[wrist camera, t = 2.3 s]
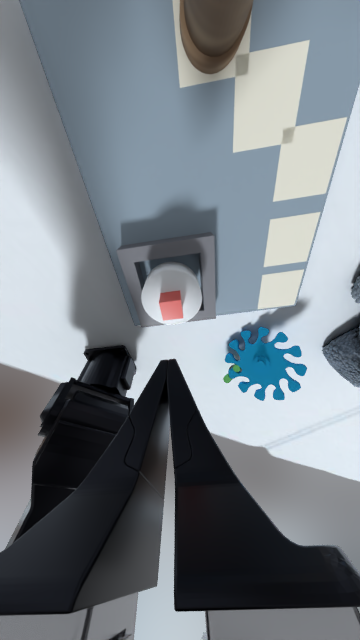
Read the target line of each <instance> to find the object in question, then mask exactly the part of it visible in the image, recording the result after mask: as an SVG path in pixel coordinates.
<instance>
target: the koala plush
mask: <svg viewBox="0 0 360 640" xmlns="http://www.w3.org/2000/svg"><path fill="white" fill-rule="evenodd" d="M351 295H352V298H354V299H356V301H355V302H356V303H360V276H358V277H357V278H356V282H355V283H354V288H353V289H352V292H351ZM322 351H323V354H324V356H325V357H326V359H327V361H328V362H329V364H330V365H331V366H332V367H333V368H334V369H335V370H336V371H337V372H338V373H339V374H340V375H341V376H342V377H343V378H345V379H346V380H347V381H350V383H351V384H353V385H354V386H355V387H360V325H359V328H356V329H354V330H352V331H349V332H347V333H345V334H343V335H342V336H339V337H338V338H336V339H334V340H332V341H331V342H330V343H329V344H328V345H326V346H325V347H324V348H323V350H322Z"/></svg>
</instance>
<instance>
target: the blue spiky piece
mask: <svg viewBox="0 0 360 640" xmlns="http://www.w3.org/2000/svg"><path fill="white" fill-rule="evenodd" d="M268 333H269V330H268V329H267V328H264V327H260V328H259V329H258V339H257V341H256V342H255V343H254V344H251V343H249V338H250V336H251V331H249V330H246V331H242V332H241V336H242V338H243V339H244V341H245V350H240V349H239V342H238V340H236V339H235V340H233V341H231V342H230V343H229V346H230V347H231V348H232V349H234V350H236V351H237V353H238V354H239V356H240V360H236V359H235V358H234V356H233V354H231V353H228V354H227V355H226V357H225V362H227V363H234V364H235V365H232V366H231V367H230V368H229V371H228V373H229V374H227V375H226V376H225V377H224V382H226V383H229V382H230V381H231V380H232V379H233V378H235V377H238V376H244V377H247V378H249V380H250V382H240V383H239V385H238V387H239V388H240V390H241V391H242V392H243V393H244V392H246V391H247V390H248V388H249V387H250V386H251V385H253V384H260V385H261V386H262V388H261V389H258V390H256V391H255V394H254V396H255V397H256V398H257V399H259V400H262V401H263V400H264V399H265V389H266V388H267V386H268V385H270V384H272V385H274V386H275V387H276V389H275V390H274V392H273V398H274V399H276V400H284V393H283V391H282V390H281V388H280V385H279V380H280V379H282V378H284V379H287V380H288V387H289V390H290V391H292V392H295V391H297V390H299V389H300V388H301V387H300V384H299V382H297V381H296V380H294V379H292V378H291V377H290V376H289V375H288V374H287V372H286V370H285V369H286V368H287V367H292V368H293V369H294V370H295V372H296V373H297V374H298V375H300V376H304V375H305V373H306V370H307V367H306V366H305V365H303V364H295V363H291V362H289V361H287V360H286V359H285V358H284V357H283V356H284V354H286V353H289V354H291V355H293V356H294V357H301V350H300V347H299V346H293V347H291V348H289V349H277V348H275V346H274V344H275V343H276V342H286V341H287V340H288V338H287V336H286V335H285V334H284V333H283V332H279V333H278V334H277V336H276V338H275V339H274V340H272V341H271V342H268V343H263V342H262V340H261V338H262V337H263V336H266V335H267V334H268Z"/></svg>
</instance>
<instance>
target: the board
mask: <svg viewBox="0 0 360 640" xmlns="http://www.w3.org/2000/svg"><path fill="white" fill-rule="evenodd" d="M19 1H20V4H21V7H22V9H23V12H24V15H25V18H26V21H27V23H28V26H29V29H30V32H31V35H32V38H33V40H34V43H35V46H36V49H37V52H38V54H39V57H40V60H41V63H42V66H43V68H44V71H45V74H46V77H47V80H48V83H49V85H50V88H51V91H52V94H53V97H54V99H55V102H56V105H57V108H58V111H59V113H60V116H61V119H62V122H63V125H64V128H65V130H66V133H67V136H68V139H69V142H70V144H71V147H72V150H73V153H74V156H75V158H76V161H77V164H78V167H79V170H80V173H81V175H82V178H83V181H84V184H85V187H86V189H87V192H88V195H89V198H90V201H91V203H92V206H93V209H94V212H95V215H96V217H97V220H98V223H99V226H100V229H101V232H102V234H103V237H104V240H105V243H106V246H107V248H108V251H109V254H110V257H111V260H112V262H113V265H114V268H115V271H116V274H117V277H118V279H119V282H120V285H121V288H122V291H123V293H124V296H125V299H126V302H127V305H128V307H129V310H130V313H131V316H132V319H133V322H134V324H135V326H136V325H141V327H150V326H158V325H166V324H163V323H160V322H158V321H156V320H154V319H153V318H151V317H150V316H149V315H148V314H147V312H146V311H145V309H144V307H143V305H142V300H141V295H142V290H143V287H144V284H145V282H146V279H147V276H148V275H149V273H150V272H151V270H152V269H153V268H155V267H156V266H158V265H159V264H162V263H165V262H179V263H182V264H184V265H186V266H188V267H189V268H190V269H191V270H192V271H193V272H194V273H195V275H196V277H197V279H198V282H199V286H200V289H201V293H202V304H201V307H200V309H199V311H198V312H197V314H196V315H195V316H194V317H193V318H192V319H190V320H188V321H187V322H191V321H199V320H207V319H215V318H216V316H217V315H226V314H234V313H242V312H250V311H258V310H266V309H274V308H282V307H290V306H296V302H297V299H298V295H299V292H300V288H301V285H302V281H303V278H304V274H305V271H306V268H307V264H308V261H309V257H310V254H311V250H312V247H313V243H314V240H315V236H316V233H317V229H318V226H319V222H320V219H321V215H322V212H323V209H324V205H325V202H326V198H327V195H328V191H329V188H330V184H331V181H332V177H333V174H334V170H335V167H336V163H337V160H338V157H339V153H340V150H341V146H342V143H343V139H344V136H345V132H346V129H347V125H348V122H349V118H350V115H351V111H352V108H353V104H354V101H355V98H356V94H357V91H358V87H359V84H360V0H254V1H253V6H252V11H251V16H250V19H249V23H248V26H247V29H246V31H245V34H244V36H243V38H242V41H241V43H240V46H239V48H238V50H237V52H236V54H235V56H234V57H233V59H232V60H231V62H230V63H229V64H228V65H227V66H226V67H225V68H224V69H223V70H221V71H220V72H218V73H215V74H205V73H202V72H200V71H198V70H197V69H196V68H195V67H194V66H193V65H192V64H191V62H190V61H189V59H188V57H187V55H186V53H185V50H184V47H183V44H182V40H181V34H180V22H179V14H180V0H19Z"/></svg>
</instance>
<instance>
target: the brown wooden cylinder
mask: <svg viewBox="0 0 360 640" xmlns="http://www.w3.org/2000/svg"><path fill="white" fill-rule="evenodd" d="M253 1H254V0H180V14H179V22H180V34H181V40H182V44H183V47H184V50H185V53H186V55H187V57H188V59H189V61H190V62H191V64H192V65H193V66H194V67H195V68H196V69H197V70H198V71H200V72H202V73H205V74H215V73H218V72H220V71H221V70H223V69H224V68H225V67H226V66H227V65H228V64H229V63H230V62H231V60H232V59H233V57H234V56H235V54H236V52H237V50H238V48H239V46H240V43H241V41H242V38H243V36H244V34H245V31H246V29H247V26H248V23H249V19H250V16H251V11H252V6H253Z"/></svg>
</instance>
